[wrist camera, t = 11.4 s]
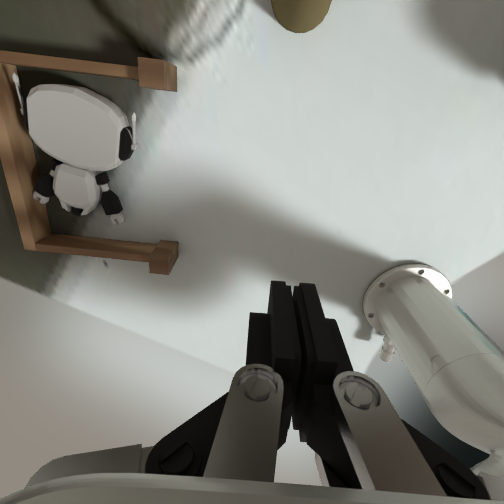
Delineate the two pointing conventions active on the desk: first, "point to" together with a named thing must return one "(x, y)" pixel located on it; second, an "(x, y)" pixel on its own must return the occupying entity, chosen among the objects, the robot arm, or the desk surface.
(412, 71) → the desk surface
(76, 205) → the robot toy
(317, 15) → the cork
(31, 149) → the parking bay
